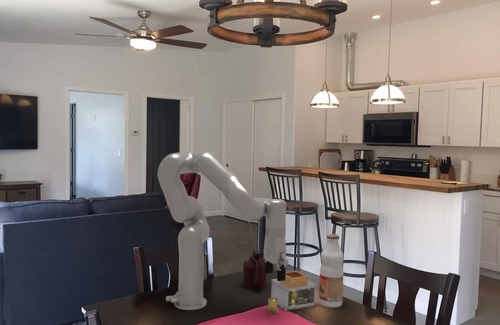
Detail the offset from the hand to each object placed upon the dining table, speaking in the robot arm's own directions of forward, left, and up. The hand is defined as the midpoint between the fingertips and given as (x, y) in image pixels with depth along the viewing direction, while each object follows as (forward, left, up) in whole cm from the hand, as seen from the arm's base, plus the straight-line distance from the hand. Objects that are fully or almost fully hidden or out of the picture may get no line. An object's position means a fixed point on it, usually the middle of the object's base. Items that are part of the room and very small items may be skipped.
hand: (274, 276), depth 151 cm
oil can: (+7, +33, -14) cm, 37 cm away
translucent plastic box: (+12, +5, -14) cm, 19 cm away
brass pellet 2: (+12, +6, -13) cm, 18 cm away
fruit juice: (+26, -1, -14) cm, 29 cm away
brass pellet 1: (0, 0, -14) cm, 14 cm away
